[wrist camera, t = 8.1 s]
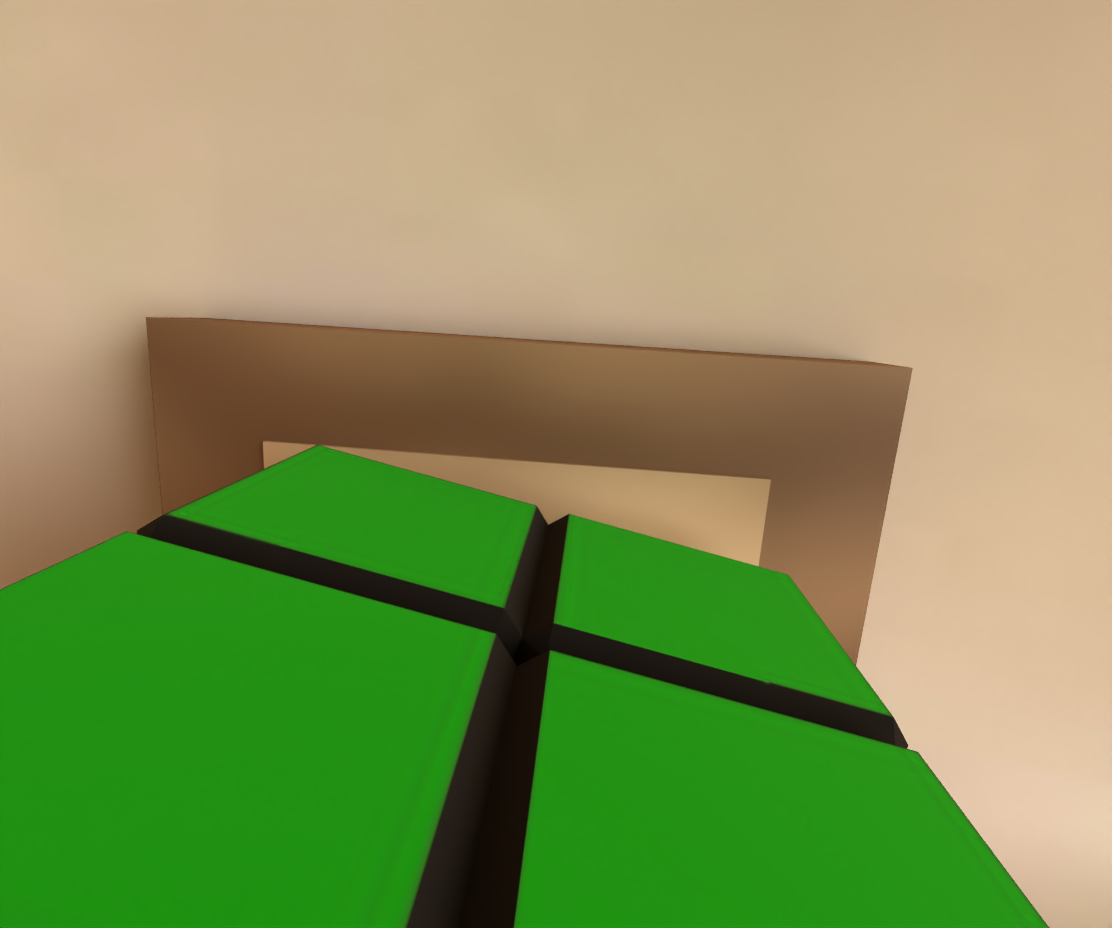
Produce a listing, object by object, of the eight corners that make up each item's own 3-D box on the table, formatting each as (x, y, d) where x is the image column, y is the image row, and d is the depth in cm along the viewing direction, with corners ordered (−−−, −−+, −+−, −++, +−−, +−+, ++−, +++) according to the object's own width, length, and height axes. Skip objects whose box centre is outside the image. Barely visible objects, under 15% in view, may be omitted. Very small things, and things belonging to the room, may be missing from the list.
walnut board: (202, 317, 15) (142, 317, 13) (870, 361, 15) (914, 368, 12) (237, 860, 19) (194, 925, 17) (773, 916, 18) (795, 992, 16)
